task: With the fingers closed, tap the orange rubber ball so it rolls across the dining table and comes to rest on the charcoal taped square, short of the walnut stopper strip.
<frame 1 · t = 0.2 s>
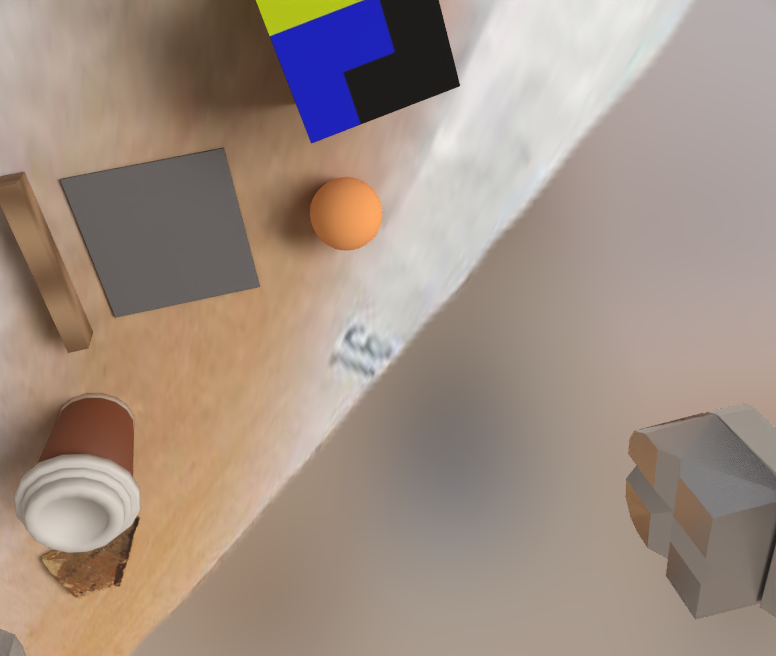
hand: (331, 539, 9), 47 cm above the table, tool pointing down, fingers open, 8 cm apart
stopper: (50, 259, 55), on the table
puzzle toy: (335, 10, 50), on the table
mark: (167, 236, 56), on the table
coffee cup: (97, 420, 64), on the table
ball: (346, 214, 55), on the table
shard: (89, 543, 72), on the table
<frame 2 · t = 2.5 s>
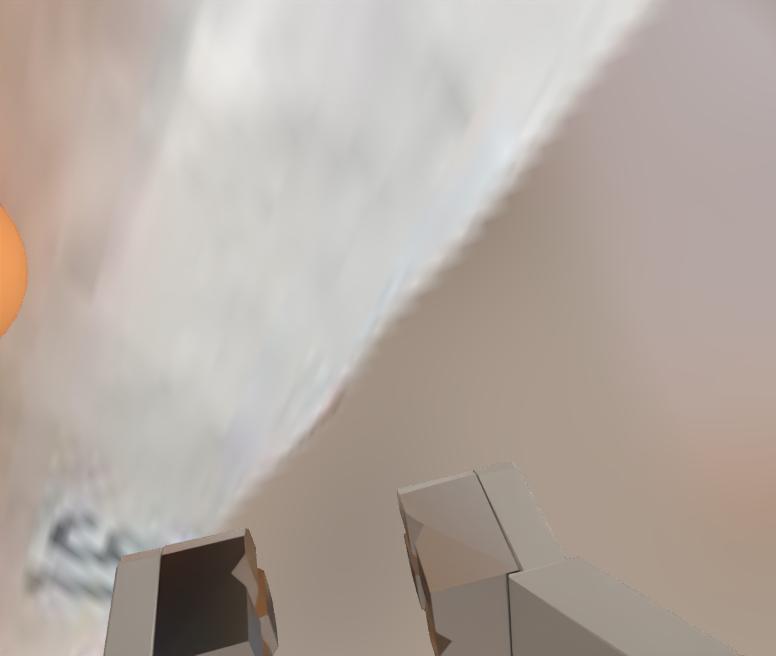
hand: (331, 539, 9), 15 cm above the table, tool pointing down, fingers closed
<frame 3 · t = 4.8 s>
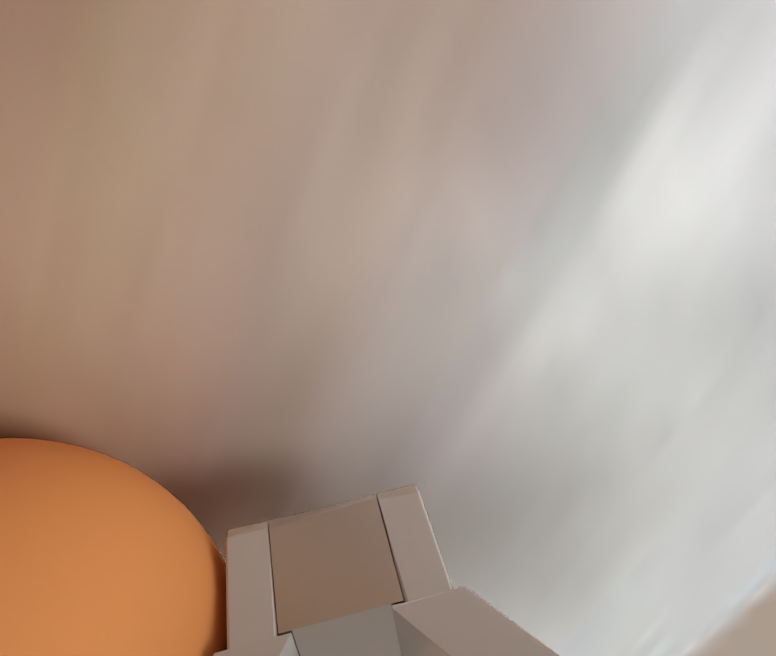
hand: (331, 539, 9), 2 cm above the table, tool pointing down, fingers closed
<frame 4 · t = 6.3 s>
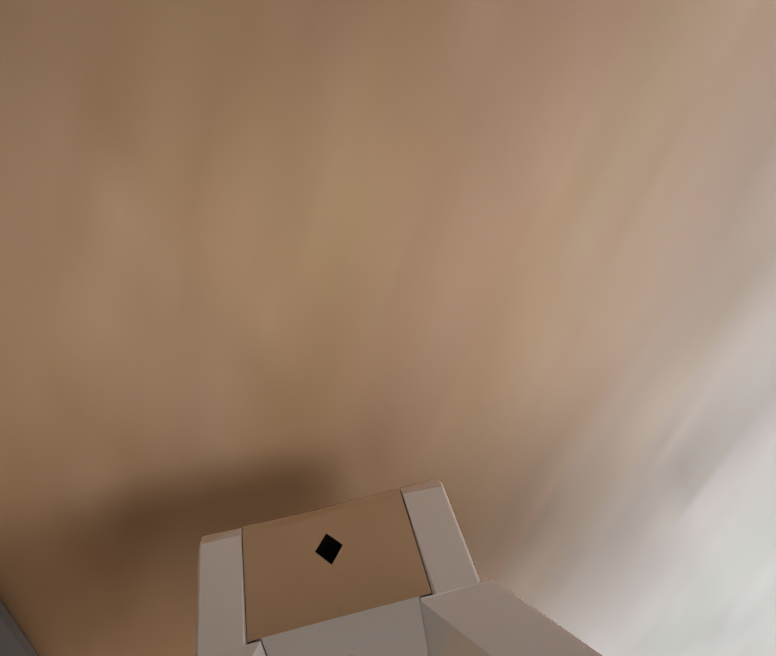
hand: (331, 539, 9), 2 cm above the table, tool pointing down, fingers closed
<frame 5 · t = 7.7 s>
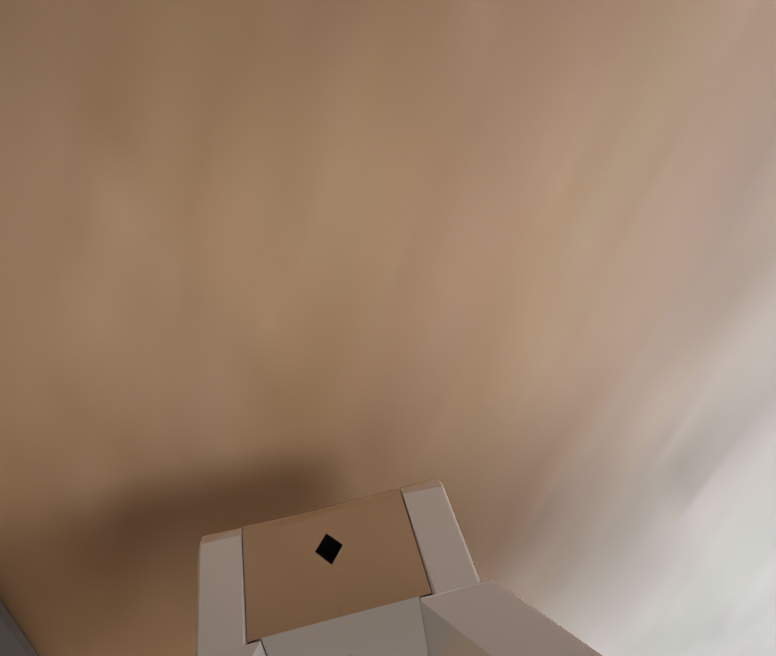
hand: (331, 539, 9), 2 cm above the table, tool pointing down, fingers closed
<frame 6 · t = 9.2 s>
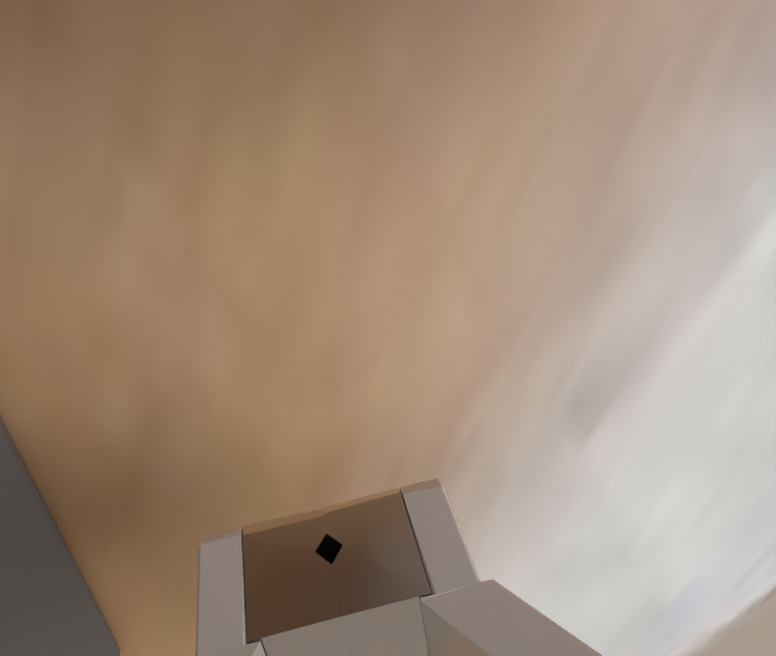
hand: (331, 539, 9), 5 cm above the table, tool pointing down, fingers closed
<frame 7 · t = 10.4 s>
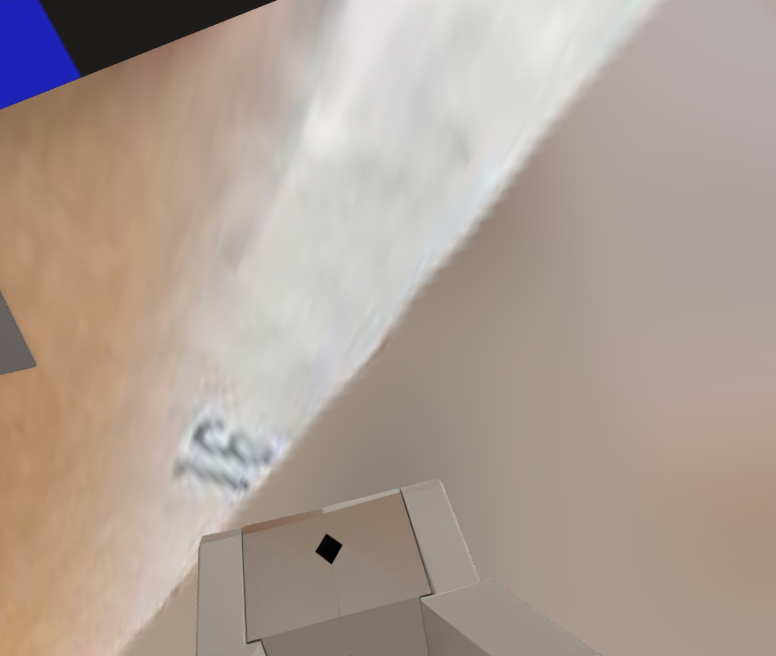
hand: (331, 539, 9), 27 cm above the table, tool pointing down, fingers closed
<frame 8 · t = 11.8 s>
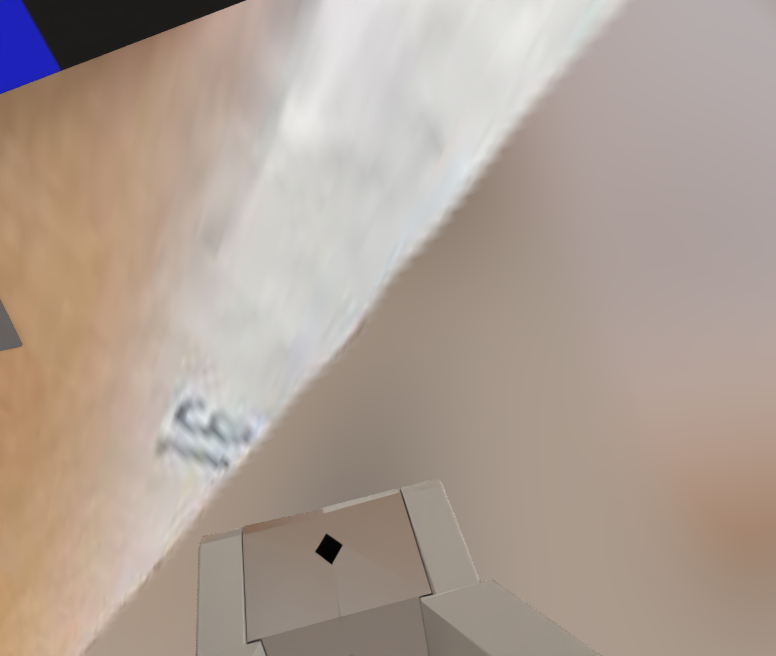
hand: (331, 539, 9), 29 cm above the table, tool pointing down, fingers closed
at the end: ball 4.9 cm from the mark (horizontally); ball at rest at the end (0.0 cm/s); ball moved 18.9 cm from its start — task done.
